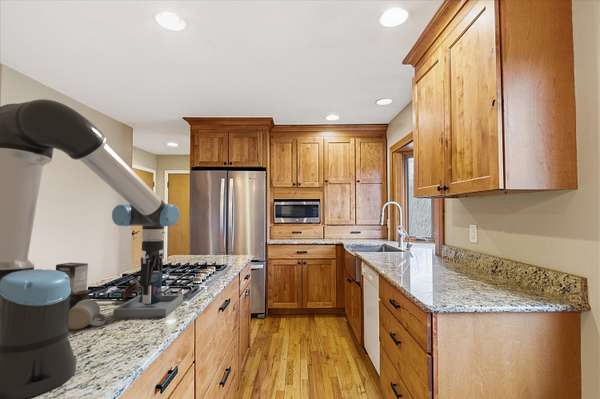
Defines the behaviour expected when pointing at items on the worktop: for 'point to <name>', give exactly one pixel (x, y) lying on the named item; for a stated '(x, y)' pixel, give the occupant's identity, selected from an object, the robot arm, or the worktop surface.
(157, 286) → the soda can
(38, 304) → the robot arm
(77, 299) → the mate gourd
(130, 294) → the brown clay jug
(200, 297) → the worktop surface
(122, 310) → the tray
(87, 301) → the ceramic mug
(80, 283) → the coffee box
